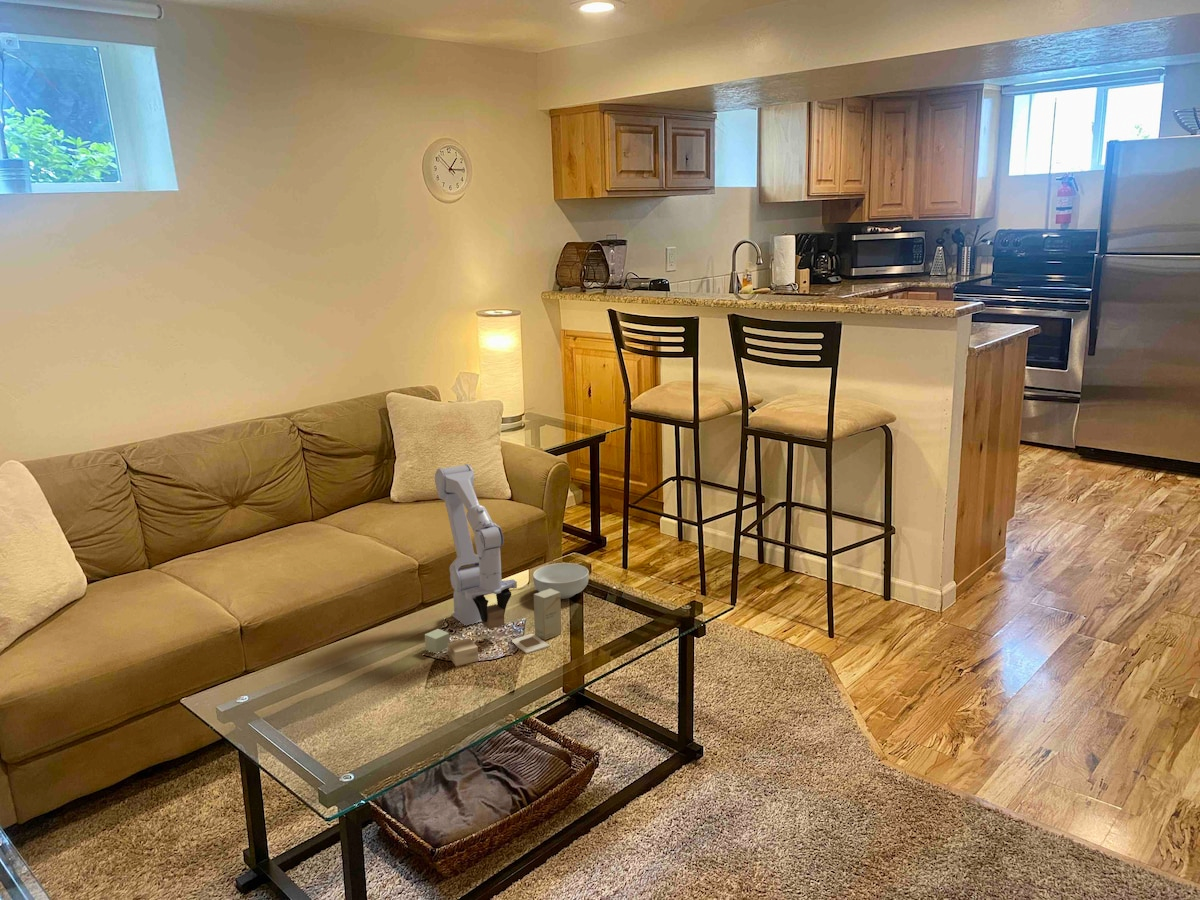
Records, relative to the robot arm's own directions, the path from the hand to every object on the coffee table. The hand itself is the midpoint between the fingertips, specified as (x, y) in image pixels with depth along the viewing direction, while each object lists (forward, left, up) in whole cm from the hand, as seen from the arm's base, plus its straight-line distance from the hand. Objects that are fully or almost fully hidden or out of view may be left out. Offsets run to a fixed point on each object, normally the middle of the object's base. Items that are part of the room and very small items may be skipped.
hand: (492, 618), depth 238 cm
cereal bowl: (-15, +31, -6) cm, 35 cm away
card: (+9, +6, -6) cm, 12 cm away
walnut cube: (0, 0, -2) cm, 2 cm away
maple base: (+6, -12, -6) cm, 15 cm away
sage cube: (-3, -15, -6) cm, 16 cm away
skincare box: (+7, +13, -6) cm, 16 cm away
